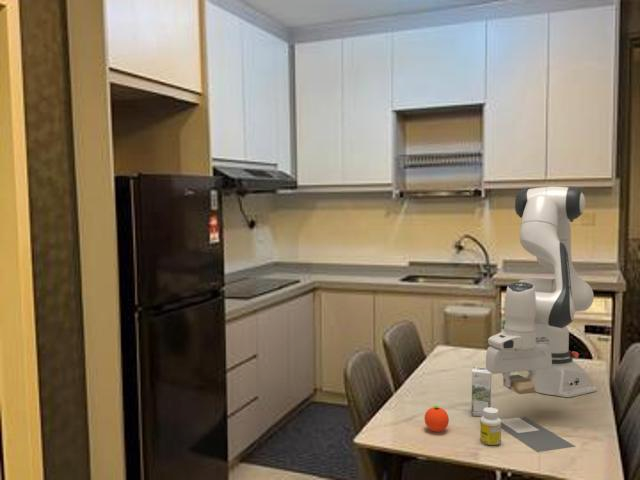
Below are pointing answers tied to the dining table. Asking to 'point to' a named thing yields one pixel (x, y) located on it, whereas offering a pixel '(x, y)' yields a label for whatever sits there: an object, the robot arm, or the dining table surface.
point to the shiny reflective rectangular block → (521, 384)
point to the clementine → (436, 419)
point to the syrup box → (480, 390)
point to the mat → (533, 434)
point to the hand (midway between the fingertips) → (518, 385)
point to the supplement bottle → (490, 428)
